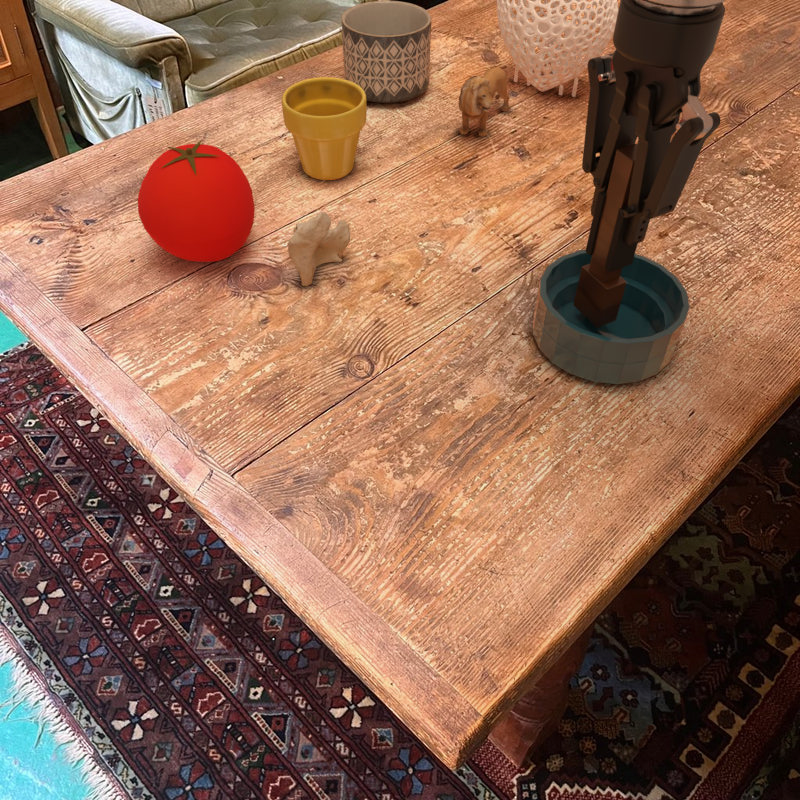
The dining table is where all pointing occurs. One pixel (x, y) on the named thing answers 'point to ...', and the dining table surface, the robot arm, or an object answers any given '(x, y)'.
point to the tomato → (196, 203)
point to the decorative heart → (555, 38)
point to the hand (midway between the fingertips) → (608, 257)
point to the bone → (317, 244)
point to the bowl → (617, 341)
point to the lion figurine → (482, 98)
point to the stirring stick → (606, 249)
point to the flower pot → (325, 124)
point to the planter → (387, 49)
